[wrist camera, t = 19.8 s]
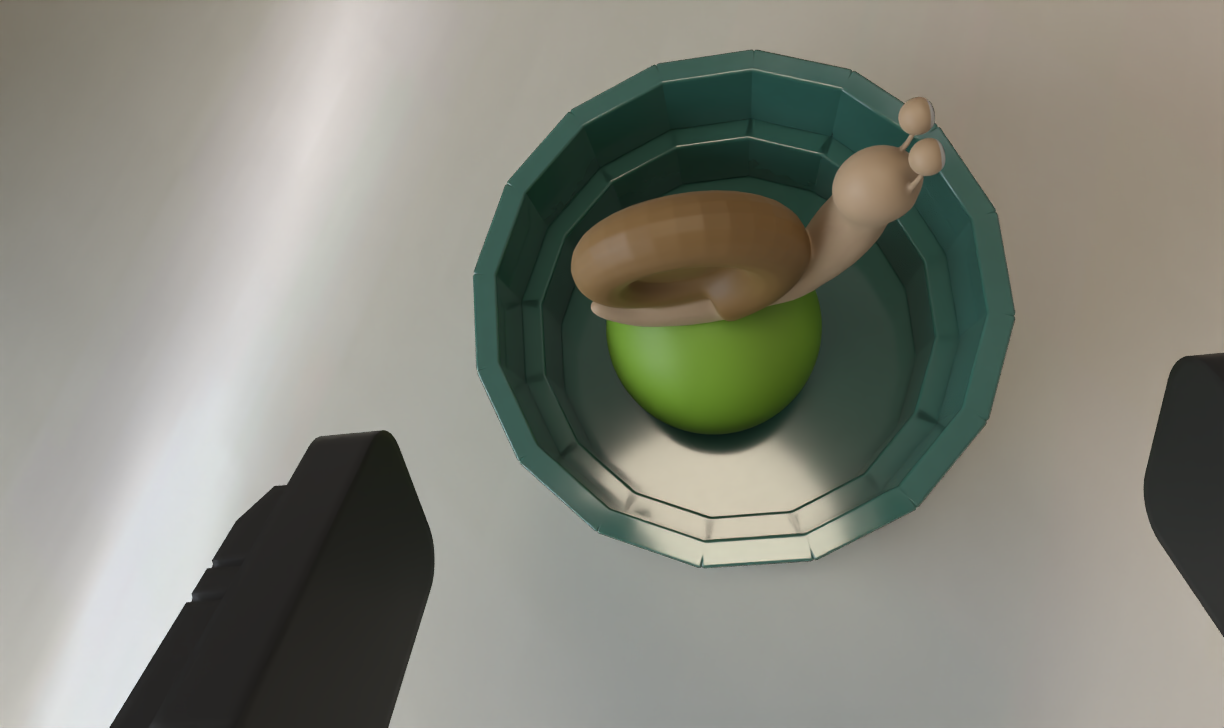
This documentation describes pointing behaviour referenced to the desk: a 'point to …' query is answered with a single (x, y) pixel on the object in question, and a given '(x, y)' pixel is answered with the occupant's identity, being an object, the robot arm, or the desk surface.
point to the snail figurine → (738, 284)
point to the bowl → (850, 303)
